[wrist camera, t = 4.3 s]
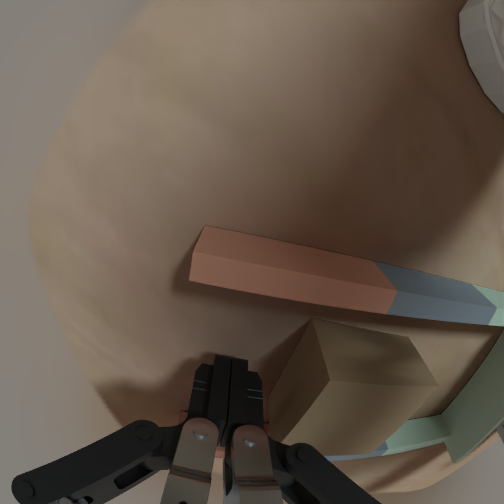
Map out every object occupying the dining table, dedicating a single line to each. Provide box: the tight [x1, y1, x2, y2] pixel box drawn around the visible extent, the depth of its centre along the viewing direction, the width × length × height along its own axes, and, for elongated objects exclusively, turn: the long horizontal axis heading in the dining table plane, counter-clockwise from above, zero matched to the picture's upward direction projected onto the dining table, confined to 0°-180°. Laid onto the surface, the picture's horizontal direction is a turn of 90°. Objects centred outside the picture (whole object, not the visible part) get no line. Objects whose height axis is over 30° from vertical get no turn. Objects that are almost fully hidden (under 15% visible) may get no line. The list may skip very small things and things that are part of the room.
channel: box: [179, 226, 504, 463], centre depth 12 cm, size 22×13×5 cm, turn 78°
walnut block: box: [268, 318, 439, 456], centre depth 12 cm, size 6×6×4 cm
